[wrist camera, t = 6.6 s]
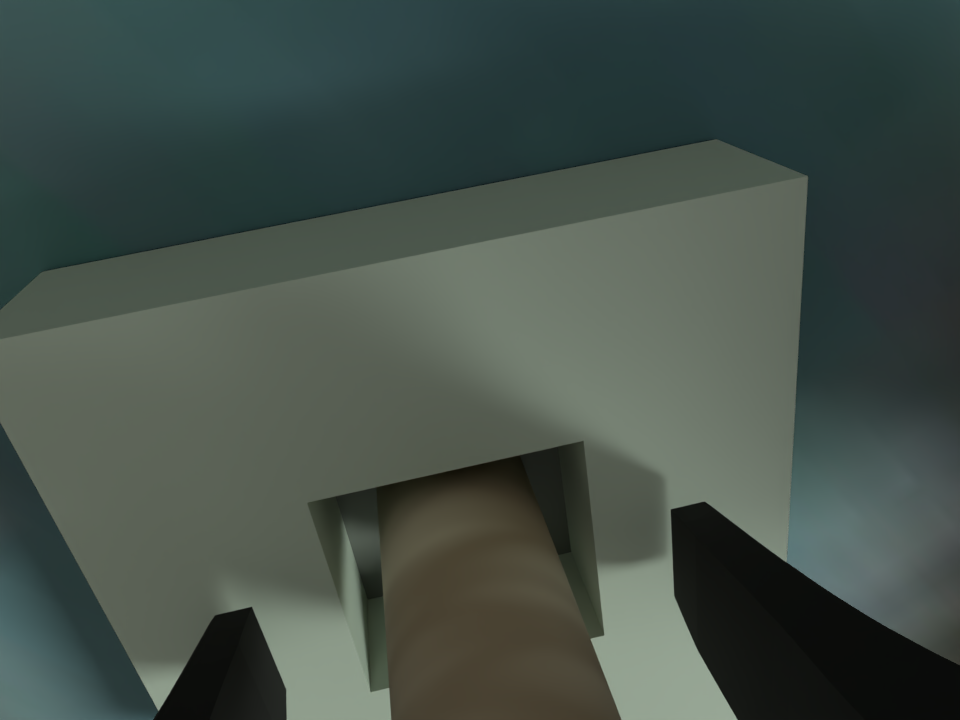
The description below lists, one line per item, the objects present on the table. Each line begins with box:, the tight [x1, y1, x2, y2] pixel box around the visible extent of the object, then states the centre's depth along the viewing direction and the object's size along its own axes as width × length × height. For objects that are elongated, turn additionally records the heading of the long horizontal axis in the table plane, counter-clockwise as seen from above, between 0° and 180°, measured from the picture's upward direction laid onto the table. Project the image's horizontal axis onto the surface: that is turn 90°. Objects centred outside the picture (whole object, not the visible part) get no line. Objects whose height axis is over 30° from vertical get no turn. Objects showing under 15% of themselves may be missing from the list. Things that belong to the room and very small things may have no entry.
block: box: [0, 139, 808, 720], centre depth 14 cm, size 12×12×3 cm
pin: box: [376, 455, 621, 720], centre depth 12 cm, size 3×3×7 cm
